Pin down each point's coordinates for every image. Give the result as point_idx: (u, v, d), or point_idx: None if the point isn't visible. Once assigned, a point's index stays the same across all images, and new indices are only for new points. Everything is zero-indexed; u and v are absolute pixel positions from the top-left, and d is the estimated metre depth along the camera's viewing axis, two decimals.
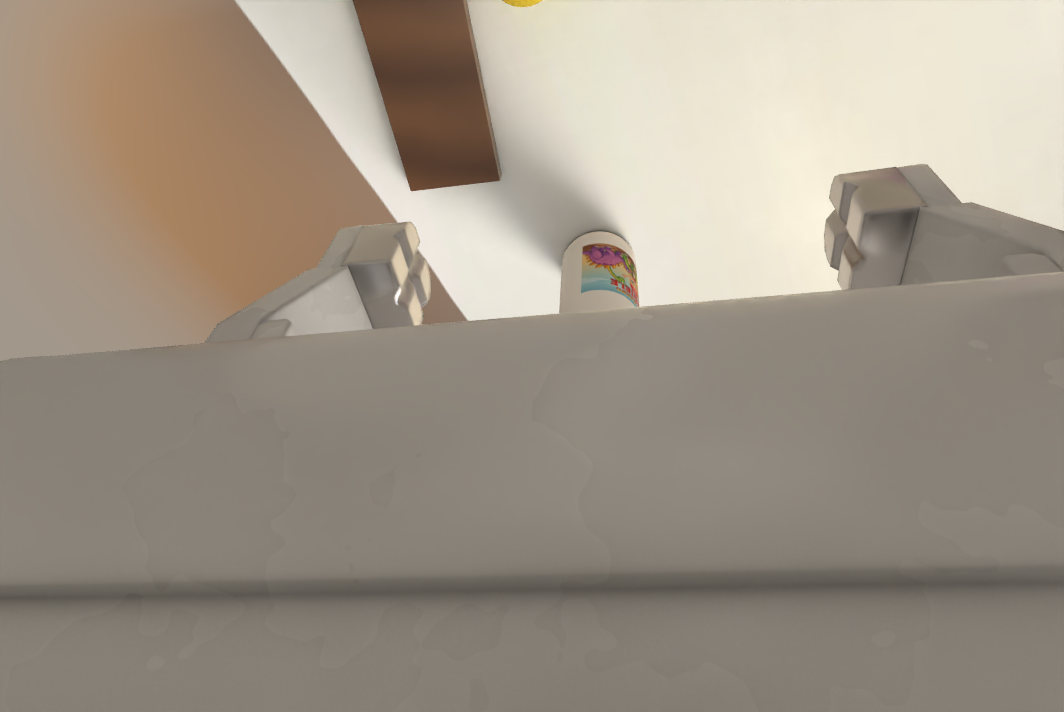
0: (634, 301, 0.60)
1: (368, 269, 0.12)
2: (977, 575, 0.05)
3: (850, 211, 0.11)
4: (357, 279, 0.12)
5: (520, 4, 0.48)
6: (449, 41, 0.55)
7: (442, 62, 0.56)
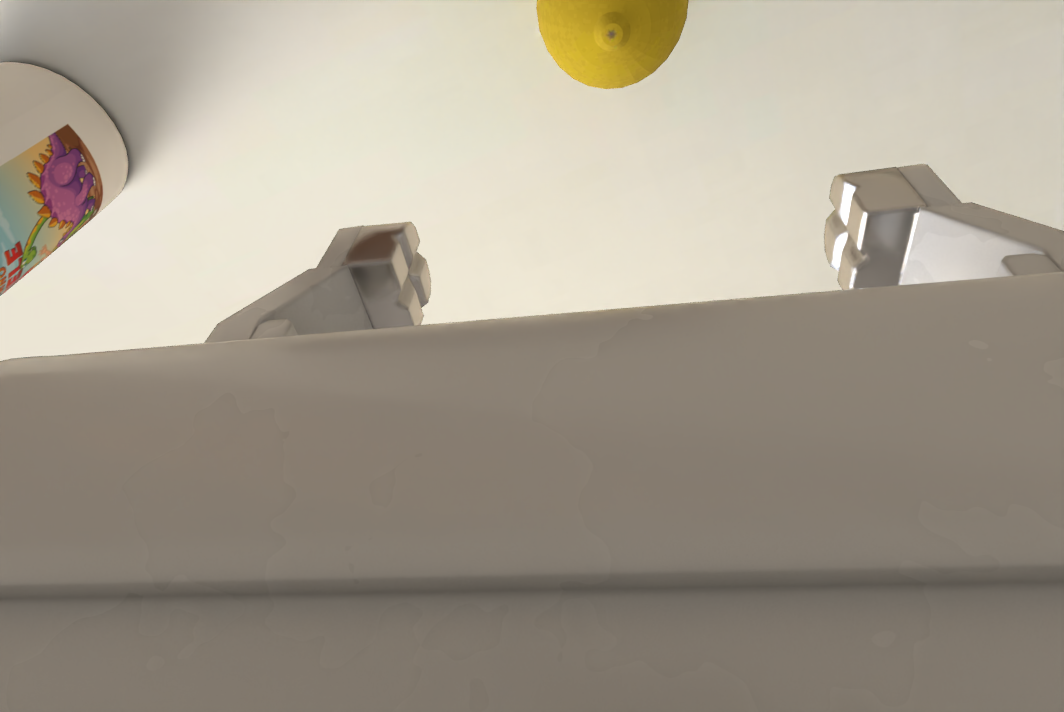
0: None
1: (368, 269, 0.12)
2: (977, 573, 0.05)
3: (850, 211, 0.11)
4: (357, 279, 0.12)
5: (548, 21, 0.22)
6: None
7: None
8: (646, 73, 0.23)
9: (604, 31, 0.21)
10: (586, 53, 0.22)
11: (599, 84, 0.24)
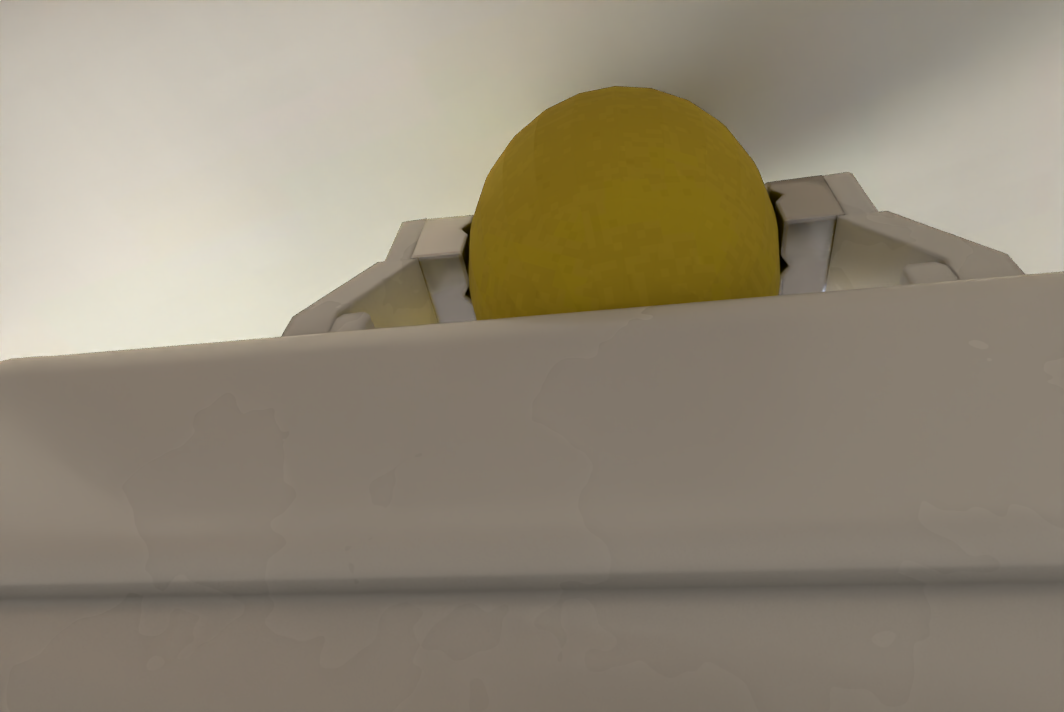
0: None
1: (438, 262, 0.12)
2: (977, 573, 0.05)
3: None
4: (426, 272, 0.12)
5: None
6: None
7: None
8: None
9: None
10: None
11: None
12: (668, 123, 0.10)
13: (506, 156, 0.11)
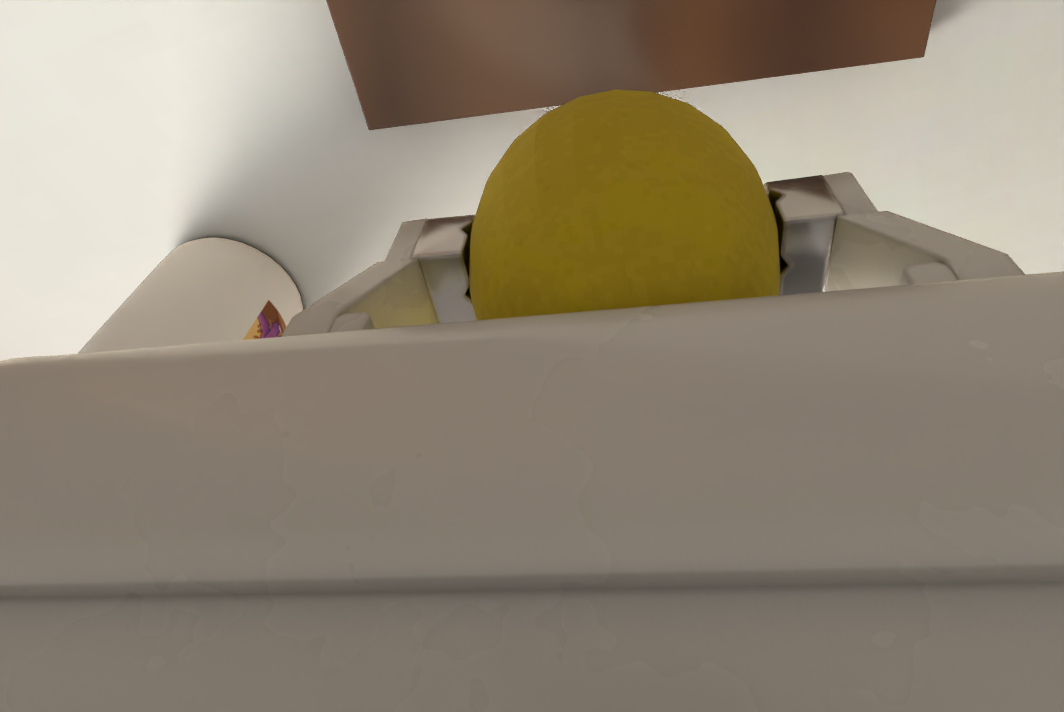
0: None
1: (438, 262, 0.12)
2: (976, 573, 0.05)
3: None
4: (426, 272, 0.12)
5: None
6: (676, 41, 0.25)
7: (632, 17, 0.24)
8: None
9: None
10: None
11: None
12: (668, 126, 0.10)
13: (507, 159, 0.11)
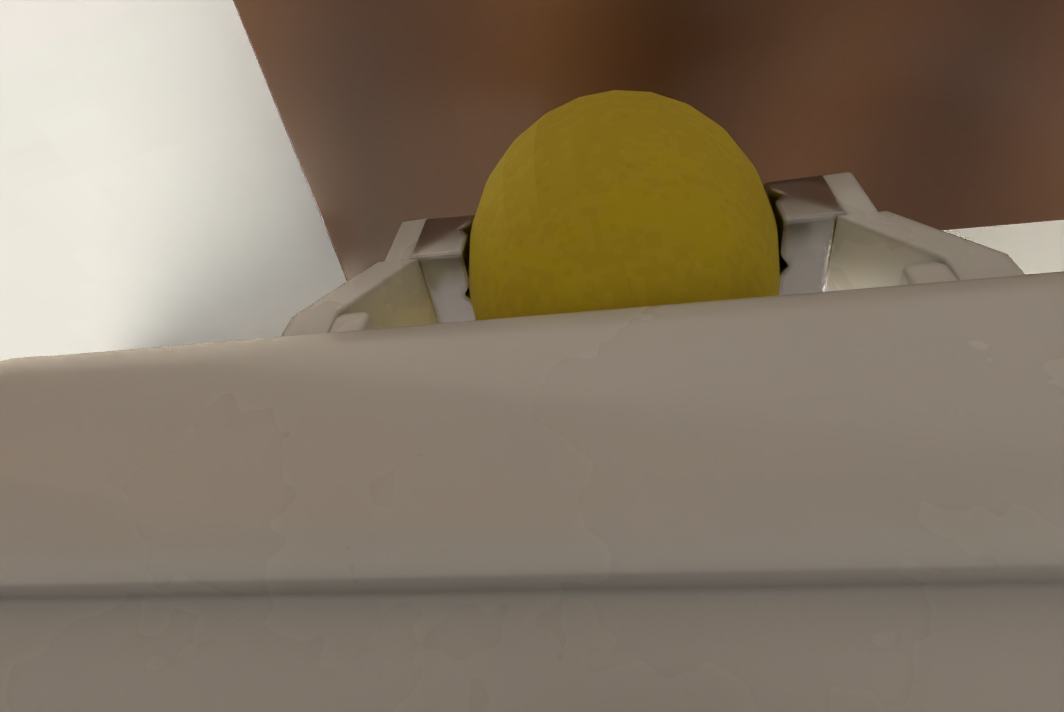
0: None
1: (438, 262, 0.12)
2: (976, 573, 0.05)
3: (775, 219, 0.11)
4: (426, 272, 0.12)
5: None
6: None
7: None
8: None
9: None
10: None
11: None
12: (668, 126, 0.10)
13: (506, 160, 0.11)
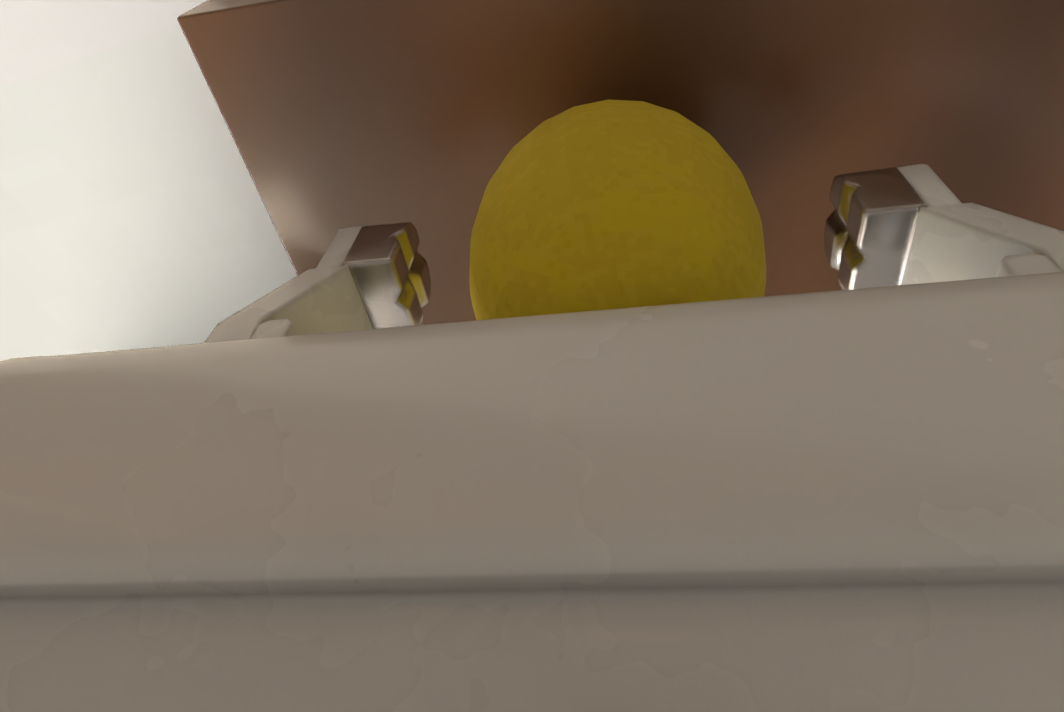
0: None
1: (368, 269, 0.12)
2: (977, 573, 0.05)
3: (850, 211, 0.11)
4: (357, 279, 0.12)
5: None
6: (772, 242, 0.17)
7: None
8: None
9: None
10: None
11: None
12: (657, 135, 0.10)
13: (504, 167, 0.11)
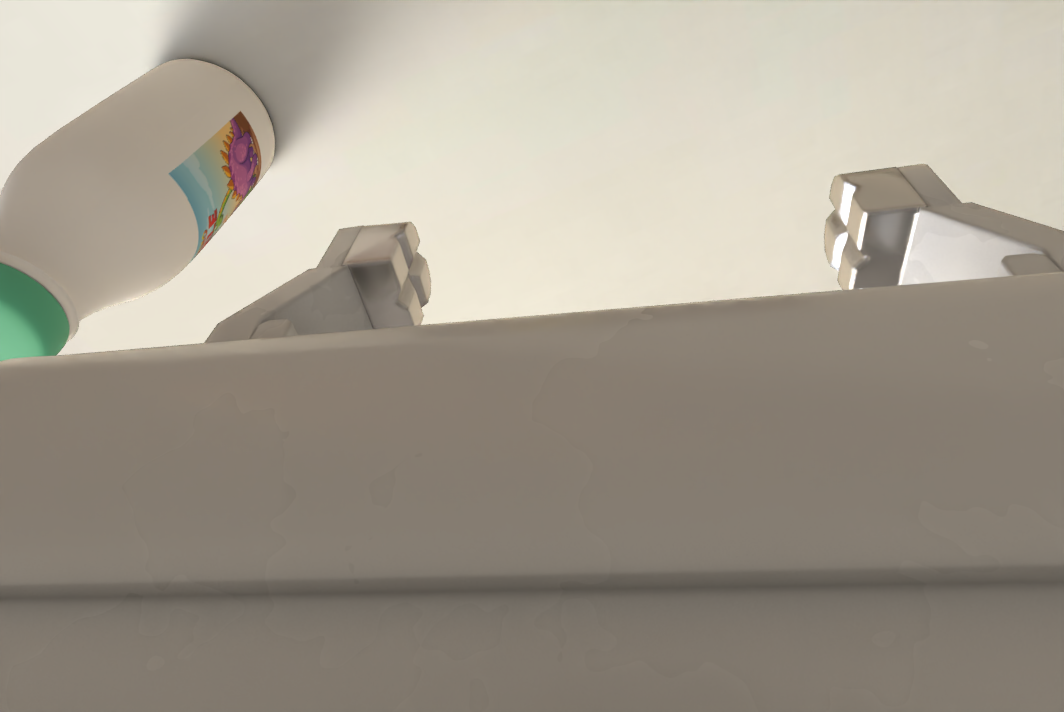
0: None
1: (368, 269, 0.12)
2: (975, 573, 0.05)
3: (850, 211, 0.11)
4: (357, 279, 0.12)
5: None
6: None
7: None
8: None
9: None
10: None
11: None
12: None
13: None
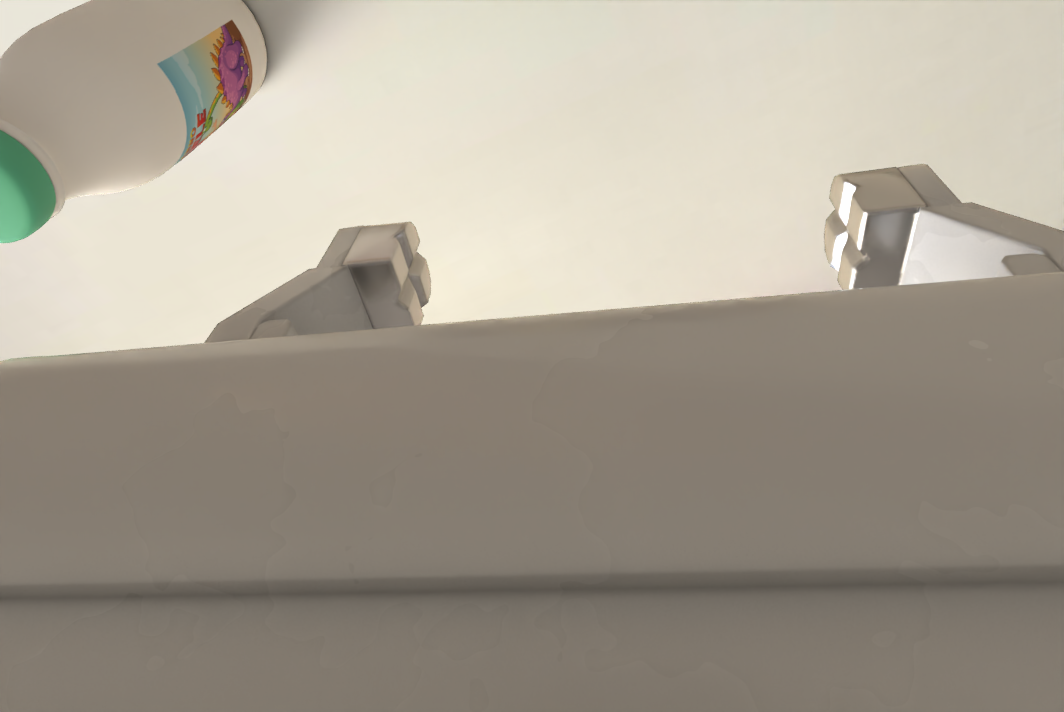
0: None
1: (368, 269, 0.12)
2: (976, 573, 0.05)
3: (850, 211, 0.11)
4: (357, 279, 0.12)
5: None
6: None
7: None
8: None
9: None
10: None
11: None
12: None
13: None
